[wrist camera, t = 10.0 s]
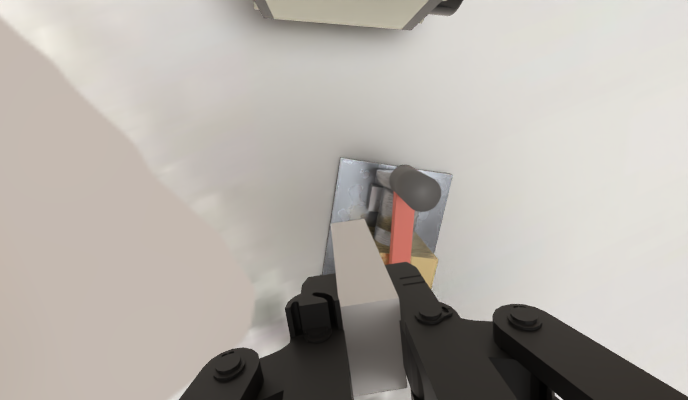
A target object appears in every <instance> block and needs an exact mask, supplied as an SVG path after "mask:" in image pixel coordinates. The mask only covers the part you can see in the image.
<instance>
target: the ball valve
mask: <svg viewBox="0 0 688 400" xmlns="http://www.w3.org/2000/svg"><path fill="white" fill-rule="evenodd" d="M462 1H463V0H253V4H254V9H257V10H260V12H261V14H262V16H263V17H264V18H269V19H281V20H293V21H305V22H317V23H329V24H341V25H353V26H365V27H377V28H389V29H401V30H412V29H413V28H414V27H415V26H416V25H417V24H418V23H422V22H423V20H424V18H425V17H426V16H427V15H428V14H431V15H443V16H451V15H452V14H454V13H455V12H456V11H457V9H458V8H459V7H460V5H461V3H462Z"/></svg>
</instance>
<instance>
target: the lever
mask: <svg viewBox="0 0 688 400" xmlns="http://www.w3.org/2000/svg"><path fill="white" fill-rule="evenodd" d="M389 184H390V186H391V188H392V190H393V191H394V194H393V209H392V225H391V240H390V256H389V264H394V263H400V262H408V263H410V260H411V248H412V236H413V224H414V212H415V211H418V212H426V211H429V210H431V209H433V208H434V207H435V206H436V205H437V204H438V202H439V201H440V198H441V188H440V185H439V183H438V182H437V181H436V180H435V179H433V178H431V177H429V176H428V175H426V174H424V173H422V172H420V171H418V170H417V169H415V168H413V167H411V166H409V165H401V166H398V167H396V168H395V169H394V170H393V171H392V172H391V174H390V177H389Z"/></svg>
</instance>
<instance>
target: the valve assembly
mask: <svg viewBox="0 0 688 400" xmlns="http://www.w3.org/2000/svg"><path fill="white" fill-rule="evenodd" d="M396 167H398V166H394V165H388V164H381V163H374V162H368V161H361V160H355V159H348V158H340V165H339V171H338V177H337V184H336V190H335V197H334V203H333V210H332V216H331V222H330V229H329V235H328V242H327V248H326V254H325V261H324V267H323V274H322V275H327V274H333V273H336V271H335V261H334V252H333V242H332V232H331V223H338V222H345V221H352V220H359V219H365V222H366V224H367V226H368V228H369V231H370V233H371V235H372V238H373V240H374V242H375V244H376V247H377V249H378V251H379V254H380V256H381V258H382V260H383V263H384V265H387V264H389V256H390V240H391V225H392V209H393V194H394V191H393V190H392V188H391V186H390V184H389V177H390V174H391V172H392V171H393V170H394V169H395V168H396ZM417 170H418V171H420V172H422V173H424V174H426V175H428V176H429V177H431V178H433V179H435V180H436V181H437V182H438V183H439V185H440V188H441V198H440V201H439V202H438V204H437V205H436V206H435V207H434V208H433V209H431V210H429V211H426V212H418V211H415V212H414V224H413V236H412V248H411V260H410V264H412V265H414V266H415V267H417V269H418V270H419V272H420V273H421V276H422V277H423V278H424V280H425V282H426V283H427V284H428V286H429V287H430V289H431V288H432V283H433V279H434V275H435V271H436V267H437V263H438V259H437V257H436V256H435V255H434V251H435V247H436V243H437V239H438V235H439V231H440V226H441V222H442V218H443V214H444V210H445V205H446V201H447V197H448V193H449V189H450V185H451V180H452V176H453V175H452V174H447V173H441V172H434V171H427V170H421V169H417Z"/></svg>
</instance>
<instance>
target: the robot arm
mask: <svg viewBox="0 0 688 400" xmlns="http://www.w3.org/2000/svg"><path fill="white" fill-rule="evenodd" d="M331 232H332V242H333V252H334V261H335V271H336V273H333V274H327V275H320V276H313V277H308V278H307V280H306V281H305V282H304V283H303V285H302V290H301V294H299V295H297V296H295V297H294V298H292V299H291V300H290V301H289V302H288V303H287V305H286V307H285V311H286V317H287V322H288V327H289V332H290V337H291V338H290V343H289V344H288V345H287V346H285V347H284V348H283V349H281V350H279V351H277V352H275V353H273V354H270V355H268V356H265V357H263V358H260V359H259V356H258V353H256V352H255V351H254V350H252V349H248V348H236V349H231V350H228V351H226V352H223V353H221V354H219V355H218V356H216V357H214V358H213V359H211V360H210V361H209V362H208V363H207V364H206V365H205V366H204V367H203V368H202V370H201V371H200V372H199V374H198V375H197V376H196V378H195V379H194V380H193V382H192V383H191V384H190V386H189V387H188V388H187V390H186V391H185V392H184V394H183V395H182V396H181V398H180V399H179V400H354V398H353V396H359V395H365V394H372V393H378V392H384V391H390V390H396V389H402V388H407V379H406V375H407V378H408V381H409V384H410V387H411V398H412V400H559V399H558V398H557V397H556V396H555V393H556V394H557V395H558V396H560V397H561V398H562V399H563V400H688V397H687V396H686V395H684V394H682V393H681V392H679V391H677V390H676V389H674V388H672V387H671V386H669V385H667V384H666V383H664V382H662V381H661V380H659V379H657V378H655V377H654V376H652V375H650V374H649V373H647V372H645V371H644V370H642V369H640V368H639V367H637V366H635V365H634V364H632V363H630V362H629V361H627V360H625V359H624V358H622V357H620V356H619V355H617V354H615V353H614V352H612V351H610V350H609V349H607V348H605V347H604V346H602V345H600V344H599V343H597V342H595V341H594V340H592V339H590V338H589V337H587V336H585V335H583V334H582V333H580V332H578V331H577V330H575V329H573V328H572V327H570V326H568V325H567V324H565V323H563V322H562V321H560V320H558V319H557V318H555V317H553V316H552V315H550V314H548V313H547V312H545V311H542V310H540V309H538V308H536V307H532V306H527V305H523V304H510V305H505V306H501V307H500V308H498V309H496V310H495V312H494V314H493V322H490V321H474V320H466V319H462V318H460V316H459V315H458V314H457V312H456V311H455V310H454V309H453V308H452V307H450V306H448V305H446V304H444V303H441V302H439V301H438V300H437V298H436V297H435V295H434V294H433V292H432V290H431V289H430V287H429V286H428V284H427V283H426V282H425V280H424V278H423V277H422V276H421V273H420V272H419V270H418V269H417V267H415V266H414V265H412V264H410V263H408V262H400V263H394V264H387V265H384V263H383V260H382V258H381V256H380V254H379V251H378V249H377V247H376V244H375V242H374V240H373V238H372V235H371V233H370V231H369V228H368V226H367V224H366V222H365V219H359V220H352V221H345V222H338V223H331Z"/></svg>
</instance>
